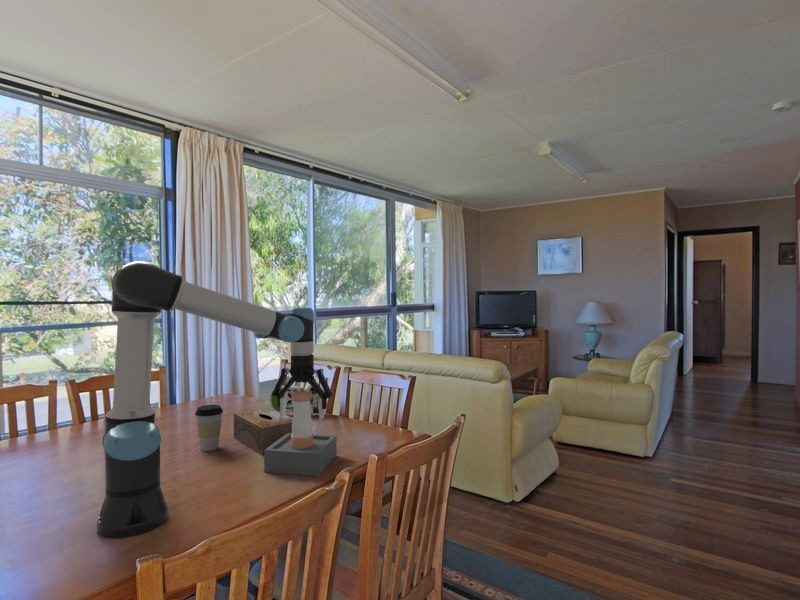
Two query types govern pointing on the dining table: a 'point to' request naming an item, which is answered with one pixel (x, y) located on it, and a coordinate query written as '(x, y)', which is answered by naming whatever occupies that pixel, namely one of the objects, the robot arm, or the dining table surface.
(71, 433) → the dining table surface
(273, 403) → the cutout
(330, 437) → the tray
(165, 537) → the dining table surface
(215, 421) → the coffee cup
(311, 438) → the salt shaker
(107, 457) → the robot arm
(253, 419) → the tissue box cover
